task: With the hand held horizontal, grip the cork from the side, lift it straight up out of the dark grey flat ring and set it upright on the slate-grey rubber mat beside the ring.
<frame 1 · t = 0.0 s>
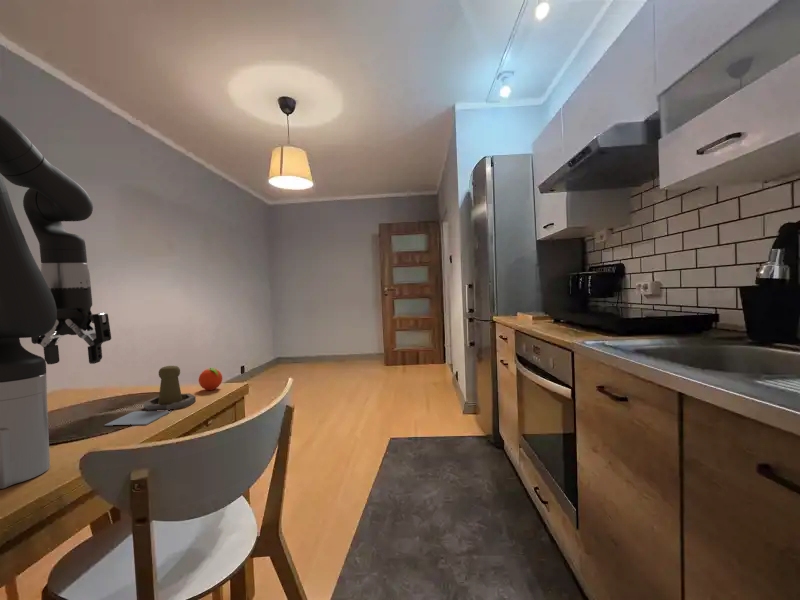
hand: (74, 363, 78), 17 cm above the table, tool pointing down, fingers open, 8 cm apart
clementine: (211, 390, 122), on the table
dark grey flat ring: (170, 404, 106), on the table
rubber mat: (139, 418, 95), on the table
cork: (170, 405, 106), resting in dark grey flat ring
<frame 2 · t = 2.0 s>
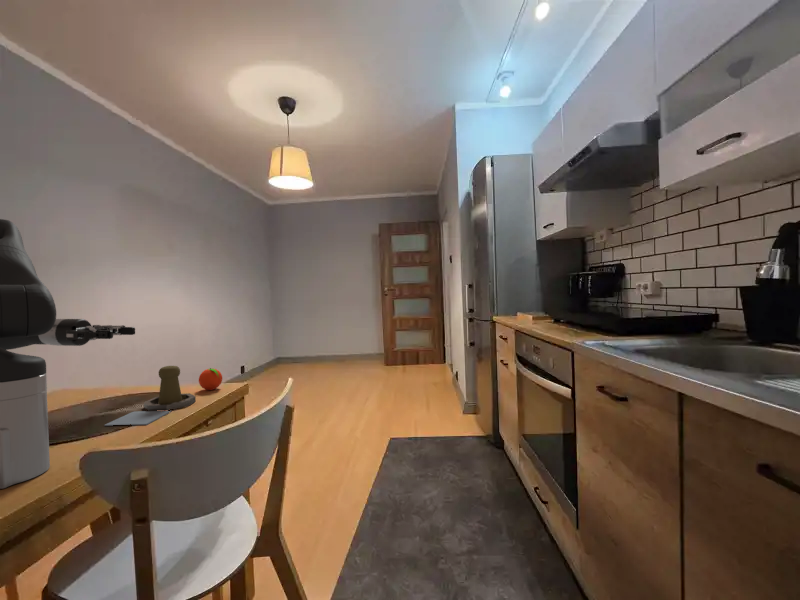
hand: (123, 332, 106), 21 cm above the table, tool horizontal, fingers open, 8 cm apart
nothing on the table moved.
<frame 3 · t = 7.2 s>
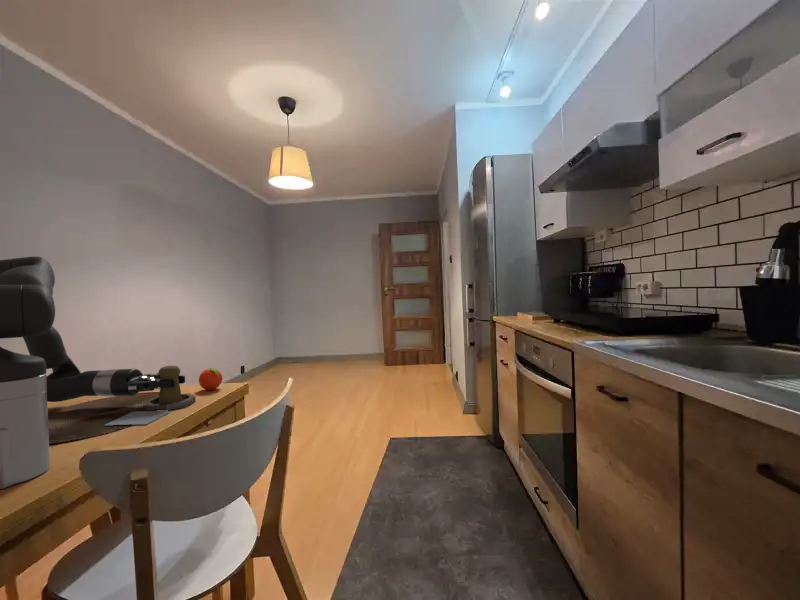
hand: (179, 381, 106), 7 cm above the table, tool horizontal, fingers closed on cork, 4 cm apart
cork: (170, 405, 106), resting in dark grey flat ring, touching gripper
everything else where it was.
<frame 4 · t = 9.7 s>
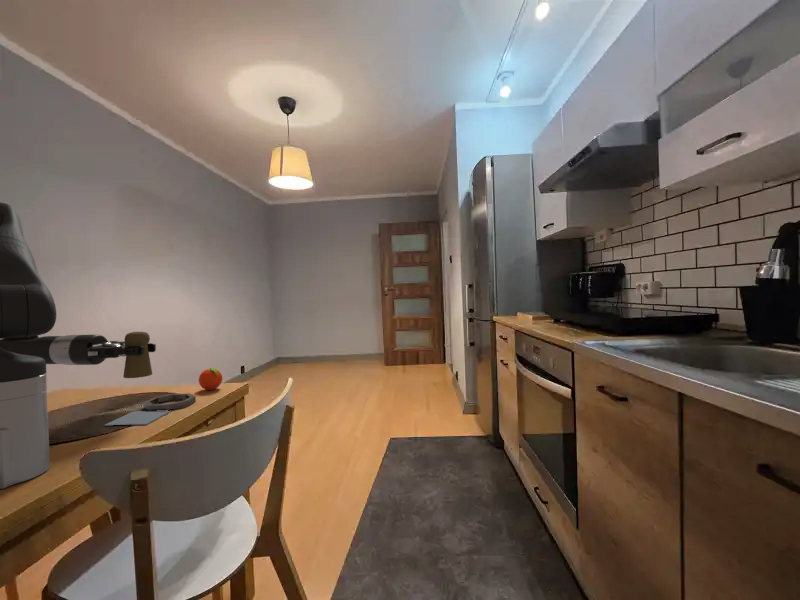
hand: (148, 349, 94), 18 cm above the table, tool horizontal, fingers closed on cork, 4 cm apart
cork: (138, 376, 94), point 11 cm above the table, touching gripper
everything else where it was.
when the fingers open (8 cm above the table, at t = 12.3 s): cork moves 2 cm, resting on rubber mat.
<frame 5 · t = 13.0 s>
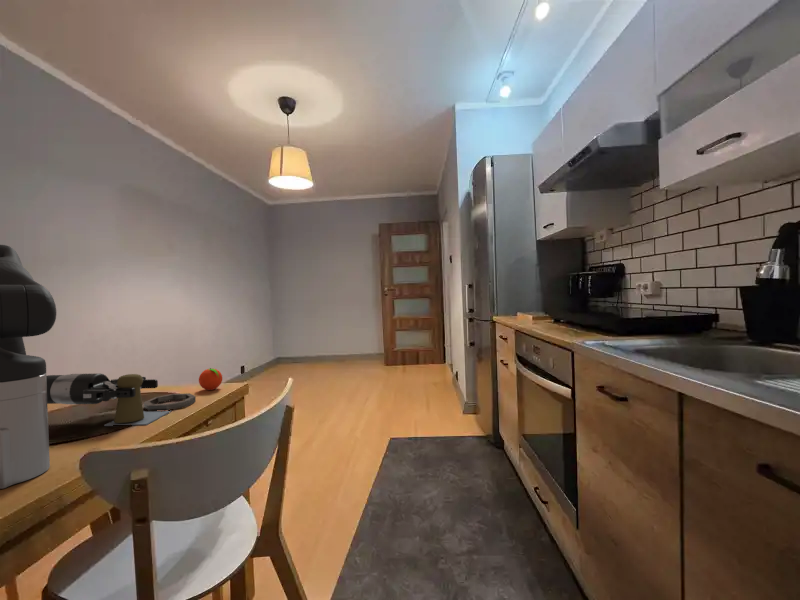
hand: (146, 387, 95), 8 cm above the table, tool horizontal, fingers open, 8 cm apart
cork: (129, 420, 92), resting on rubber mat, touching gripper
everything else where it was.
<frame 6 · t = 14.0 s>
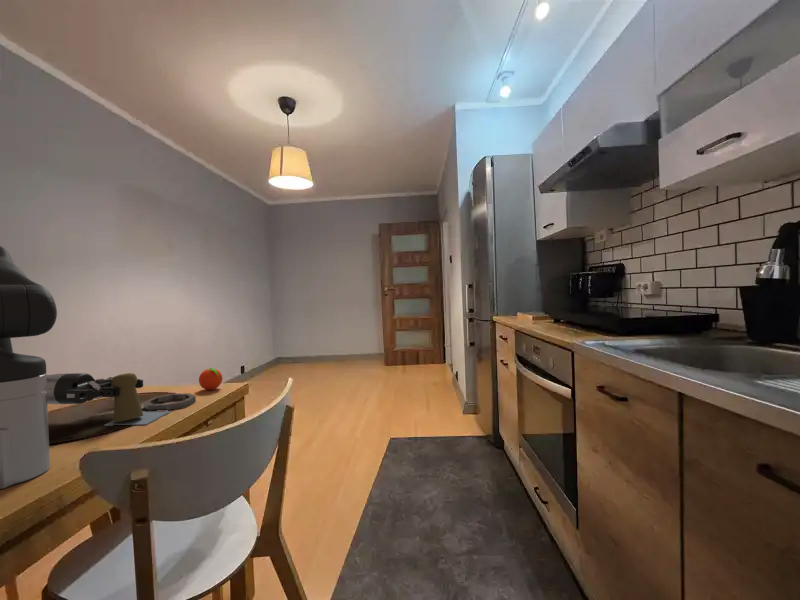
hand: (130, 387, 94), 8 cm above the table, tool horizontal, fingers open, 8 cm apart
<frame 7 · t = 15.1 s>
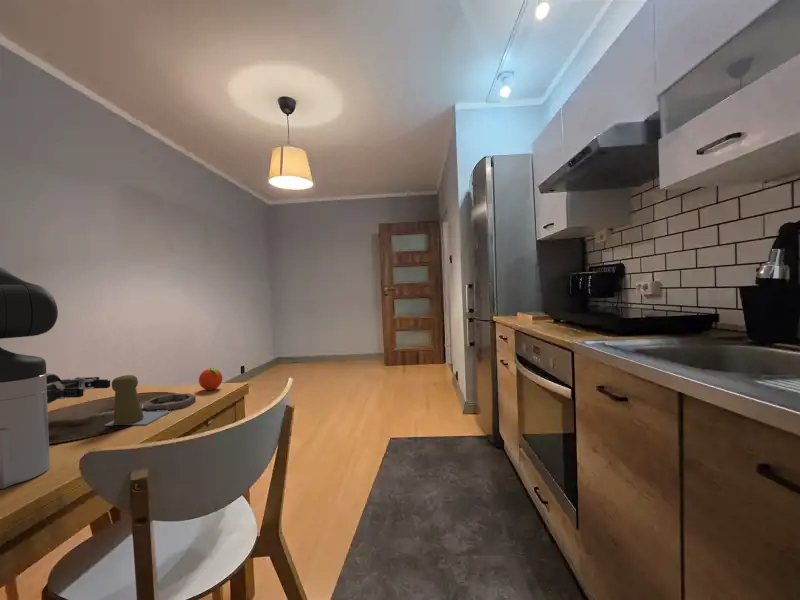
hand: (96, 387, 94), 8 cm above the table, tool horizontal, fingers open, 8 cm apart
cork: (129, 420, 92), resting on rubber mat
everything else where it was.
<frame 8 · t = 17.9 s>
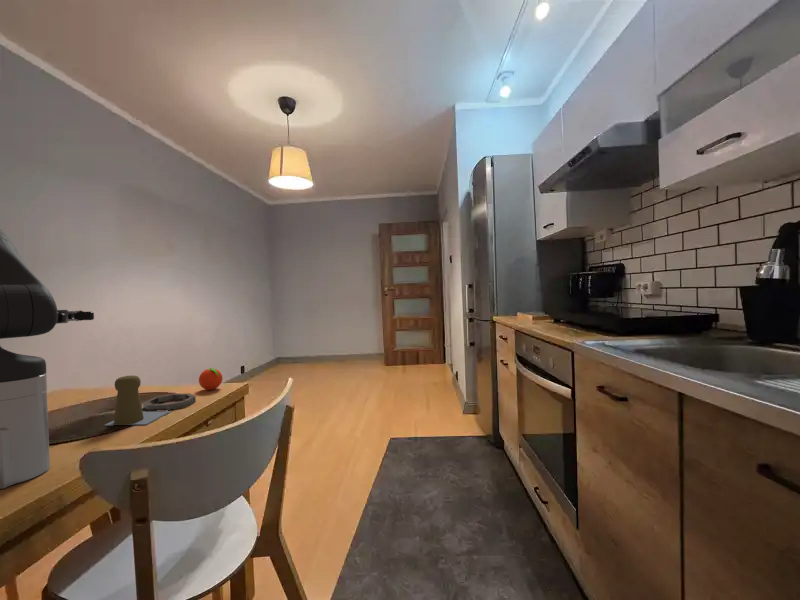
hand: (79, 316, 94), 26 cm above the table, tool horizontal, fingers open, 8 cm apart
nothing on the table moved.
at the end: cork inside the target area (3.0 cm from its centre), resting on rubber mat; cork tilted 0°; the gripper is holding nothing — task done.
